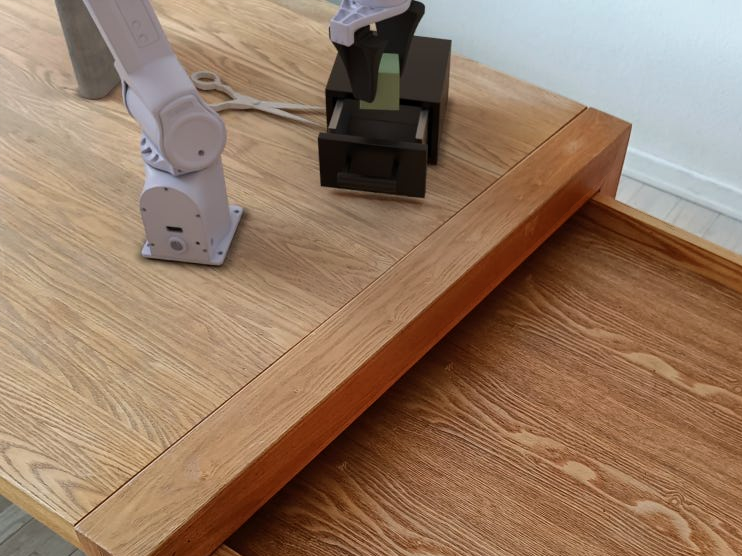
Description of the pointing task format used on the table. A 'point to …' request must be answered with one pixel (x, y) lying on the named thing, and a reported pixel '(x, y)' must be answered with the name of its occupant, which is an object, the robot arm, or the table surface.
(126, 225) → the table surface
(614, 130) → the table surface
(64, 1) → the hip flask
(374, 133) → the drawer
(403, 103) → the cabinet
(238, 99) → the scissors
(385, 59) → the block
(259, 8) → the table surface
